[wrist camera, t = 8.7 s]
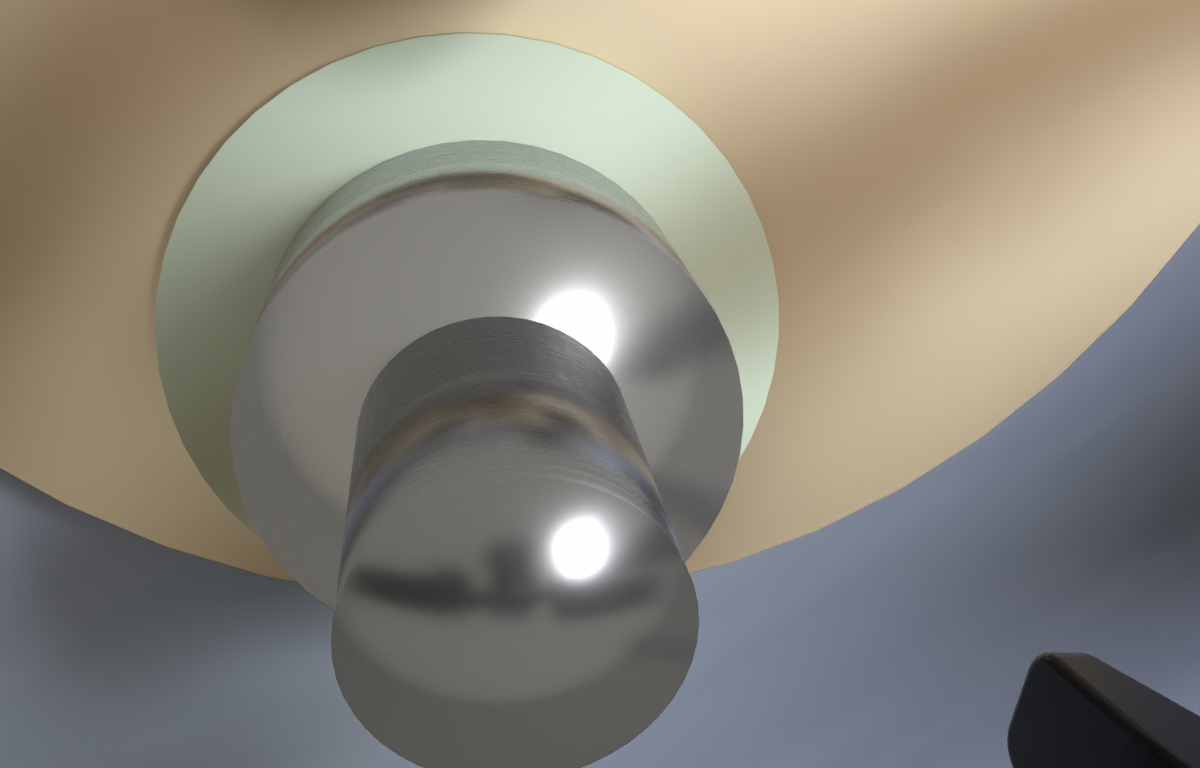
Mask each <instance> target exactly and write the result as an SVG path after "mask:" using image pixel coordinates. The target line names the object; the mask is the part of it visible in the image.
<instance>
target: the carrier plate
mask: <svg viewBox="0 0 1200 768" xmlns="http://www.w3.org/2000/svg"><path fill="white" fill-rule="evenodd" d="M468 140H492V141H508V142H514V143H520V144H527V145H533V146H537V147H540V148H543V149H547V150H550V151H553V152H557V153H560V154H563V155H565V156H568V157H570V158H572V159H574V160H576V161H579V162H581V163H583V164H585V165H588V166H590V167H591V168H593V169H594V170H596V171H598V172H599V173H601V174H603V175H604V176H606V177H607V178H609V179H611V180H612V181H614V182H615V183H616V184H617V185H619V186H620V187H621V188H622V189H623V190H625V191H626V192H627V193H628V194H630V195H631V196H632V197H633V198H634V199H636V200H637V202H638V203H639V204H640V205H641V206H642V207H643V208H644V209H645V210H646V211H647V213H648V214H649V215H650V216H651V217H652V218H653V219H654V220H655V222H656V223H657V225H658V226H659V227H660V229H661V230H662V232H663V233H664V235H665V236H666V238H667V239H668V241H669V242H670V244H671V245H672V247H673V248H674V250H675V251H676V253H677V254H678V256H679V257H680V259H681V260H682V262H683V263H684V265H685V266H686V268H687V270H688V271H689V273H690V274H691V276H692V277H693V279H694V280H695V282H696V283H697V285H698V286H699V288H700V289H701V291H702V292H703V294H704V296H705V297H706V299H707V300H708V302H709V303H710V305H711V306H712V308H713V309H714V311H715V312H716V314H717V316H718V318H719V320H720V322H721V325H722V327H723V329H724V331H725V333H726V335H727V337H728V339H729V341H730V344H731V348H732V351H733V354H734V357H735V360H736V363H737V366H738V371H739V377H740V383H741V389H742V395H743V434H742V442H741V450H740V457H739V460H738V464H737V468H736V471H735V475H734V479H733V483H732V485H731V488H730V490H729V492H728V495H727V497H726V500H725V502H724V504H723V507H722V509H721V511H720V513H719V514H718V516H717V518H716V520H715V521H714V523H713V525H712V526H711V528H710V530H709V532H708V533H707V535H706V536H705V538H704V539H703V540H702V542H701V543H700V544H699V546H698V547H697V548H696V550H695V551H694V552H693V553H692V555H691V556H690V557H689V559H688V560H687V561H686V562H685V564H686V566H687V569H688V572H689V573H692V572H696V571H699V570H703V569H707V568H711V567H715V566H719V565H723V564H727V563H731V562H734V561H736V560H739V559H742V558H744V557H747V556H750V555H753V554H755V553H758V552H761V551H763V550H766V549H769V548H771V547H774V546H777V545H779V544H782V543H785V542H788V541H790V540H793V539H796V538H798V537H801V536H804V535H806V534H809V533H812V532H814V531H817V530H819V529H821V528H823V527H825V526H827V525H829V524H831V523H833V522H835V521H837V520H839V519H841V518H843V517H845V516H847V515H849V514H851V513H853V512H855V511H857V510H859V509H861V508H863V507H865V506H867V505H869V504H871V503H873V502H876V501H878V500H880V499H882V498H884V497H886V496H888V495H890V494H892V493H894V492H896V491H898V490H900V489H901V488H903V487H905V486H906V485H908V484H909V483H911V482H912V481H914V480H916V479H917V478H919V477H920V476H922V475H923V474H925V473H927V472H928V471H930V470H931V469H933V468H934V467H936V466H938V465H939V464H941V463H942V462H944V461H945V460H947V459H949V458H950V457H952V456H953V455H955V454H956V453H958V452H960V451H961V450H963V449H964V448H966V447H967V446H969V445H971V444H972V443H974V442H975V441H977V440H978V439H980V438H982V437H983V436H984V435H985V434H987V433H988V432H989V431H990V430H992V429H993V428H994V427H995V426H997V425H998V424H999V423H1000V422H1002V421H1003V420H1004V419H1006V418H1007V417H1008V416H1009V415H1011V414H1012V413H1013V412H1014V411H1016V410H1017V409H1018V408H1019V407H1021V406H1022V405H1023V404H1024V403H1026V402H1027V401H1028V400H1029V399H1031V398H1032V397H1033V396H1035V395H1036V394H1037V393H1038V392H1040V391H1041V390H1042V389H1043V388H1045V387H1046V386H1047V385H1048V384H1050V383H1051V382H1052V381H1053V380H1055V379H1056V378H1057V377H1058V376H1059V375H1060V374H1061V373H1062V372H1063V371H1065V370H1066V369H1067V368H1068V367H1069V366H1070V365H1071V364H1072V363H1073V362H1074V361H1075V360H1076V359H1077V358H1078V357H1079V356H1080V355H1081V354H1082V353H1083V352H1084V351H1085V350H1086V349H1087V348H1088V347H1089V346H1090V345H1091V344H1092V343H1093V342H1094V341H1095V340H1096V339H1097V338H1098V337H1099V336H1100V335H1101V334H1102V333H1104V332H1105V331H1106V330H1107V329H1108V328H1109V327H1110V326H1111V325H1112V324H1113V323H1114V322H1115V321H1116V320H1117V319H1118V318H1119V317H1120V316H1121V315H1122V314H1123V313H1124V312H1125V311H1126V310H1127V309H1128V308H1129V307H1130V306H1131V305H1132V304H1133V303H1134V301H1135V300H1136V299H1137V298H1138V297H1139V295H1140V294H1141V293H1142V292H1143V291H1144V289H1145V288H1146V287H1147V286H1148V285H1149V283H1150V282H1151V281H1152V280H1153V279H1154V277H1155V276H1156V275H1157V274H1158V273H1159V272H1160V270H1161V269H1162V268H1163V267H1164V266H1165V264H1166V263H1167V262H1168V261H1169V260H1170V258H1171V257H1172V256H1173V255H1174V254H1175V252H1176V251H1177V250H1178V249H1179V248H1180V246H1181V245H1182V244H1183V243H1184V242H1185V241H1186V239H1187V238H1188V237H1189V236H1190V235H1191V233H1192V232H1193V231H1194V230H1195V229H1196V227H1197V226H1198V225H1199V223H1200V0H0V468H1V469H3V470H5V471H7V472H8V473H10V474H12V475H14V476H16V477H17V478H19V479H21V480H23V481H25V482H26V483H28V484H30V485H32V486H34V487H35V488H37V489H39V490H41V491H43V492H44V493H46V494H48V495H50V496H52V497H53V498H55V499H57V500H59V501H61V502H62V503H64V504H66V505H69V506H71V507H74V508H76V509H78V510H81V511H83V512H85V513H88V514H90V515H92V516H95V517H97V518H100V519H102V520H104V521H107V522H109V523H111V524H114V525H116V526H119V527H121V528H123V529H126V530H128V531H130V532H133V533H135V534H137V535H140V536H142V537H145V538H147V539H149V540H152V541H154V542H156V543H159V544H161V545H164V546H166V547H170V548H173V549H176V550H180V551H183V552H186V553H190V554H193V555H196V556H200V557H203V558H206V559H210V560H213V561H216V562H220V563H223V564H226V565H230V566H233V567H236V568H240V569H243V570H246V571H250V572H253V573H256V574H259V575H263V576H268V577H273V578H279V579H284V580H289V581H295V582H297V581H296V580H295V579H294V578H293V577H292V576H291V575H290V574H289V573H288V572H287V571H286V570H285V569H284V568H283V567H282V565H281V564H280V563H279V562H278V560H277V559H276V558H275V557H274V555H273V554H272V553H271V551H270V550H269V549H268V548H267V546H266V545H265V543H264V541H263V540H262V538H261V536H260V535H259V533H258V531H257V529H256V528H255V526H254V524H253V523H252V521H251V519H250V516H249V514H248V511H247V509H246V506H245V504H244V502H243V499H242V497H241V494H240V491H239V487H238V483H237V479H236V475H235V471H234V466H233V462H232V450H231V439H230V423H231V409H232V399H233V394H234V390H235V385H236V381H237V376H238V372H239V368H240V366H241V363H242V360H243V357H244V355H245V352H246V349H247V347H248V344H249V341H250V339H251V336H252V333H253V331H254V328H255V325H256V323H257V320H258V317H259V314H260V312H261V309H262V306H263V304H264V301H265V298H266V296H267V293H268V290H269V288H270V285H271V282H272V280H273V277H274V275H275V272H276V270H277V267H278V264H279V262H280V260H281V258H282V257H283V255H284V253H285V251H286V250H287V248H288V246H289V244H290V242H291V241H292V239H293V237H294V236H295V235H296V233H297V232H298V231H299V229H300V228H301V227H302V226H303V224H304V223H305V222H306V220H307V219H308V218H309V217H310V215H311V214H312V213H313V212H314V211H315V210H316V209H317V208H318V207H319V206H320V205H321V204H322V203H323V202H324V201H325V200H326V199H327V198H328V197H329V196H331V195H332V194H333V193H334V192H335V191H337V190H338V189H339V188H341V187H342V186H343V185H345V184H346V183H348V182H349V181H350V180H352V179H353V178H354V177H356V176H357V175H359V174H361V173H363V172H365V171H366V170H368V169H370V168H372V167H374V166H376V165H377V164H379V163H381V162H383V161H385V160H388V159H391V158H393V157H396V156H398V155H401V154H404V153H406V152H409V151H412V150H415V149H420V148H424V147H428V146H432V145H436V144H441V143H448V142H458V141H468Z"/></svg>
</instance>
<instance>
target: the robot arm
mask: <svg viewBox="0 0 1200 768" xmlns="http://www.w3.org/2000/svg"><path fill="white" fill-rule="evenodd" d="M1007 741H1008V751H1009V756H1010V760H1011V763H1012V766H1013V768H1200V716H1198V715H1196V714H1194V713H1193V712H1191V711H1189V710H1187V709H1186V708H1184V707H1182V706H1180V705H1178V704H1177V703H1175V702H1173V701H1171V700H1170V699H1168V698H1166V697H1164V696H1162V695H1161V694H1159V693H1157V692H1155V691H1154V690H1152V689H1150V688H1148V687H1146V686H1145V685H1143V684H1141V683H1139V682H1138V681H1136V680H1134V679H1132V678H1130V677H1129V676H1127V675H1125V674H1123V673H1122V672H1120V671H1118V670H1116V669H1115V668H1113V667H1111V666H1109V665H1107V664H1106V663H1104V662H1102V661H1100V660H1099V659H1097V658H1095V657H1093V656H1091V655H1088V654H1084V653H1049V652H1047V653H1043V654H1041V655H1039V656H1038V657H1036V658H1035V660H1034V661H1033V662H1032V663H1031V666H1030V668H1029V670H1028V673H1027V676H1026V679H1025V682H1024V685H1023V688H1022V691H1021V694H1020V696H1019V699H1018V702H1017V705H1016V708H1015V711H1014V714H1013V717H1012V720H1011V723H1010V726H1009V730H1008V739H1007Z"/></svg>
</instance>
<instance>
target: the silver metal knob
mask: <svg viewBox="0 0 1200 768" xmlns="http://www.w3.org/2000/svg"><path fill="white" fill-rule="evenodd" d="M742 434H743V395H742V389H741V383H740V377H739V371H738V366H737V363H736V360H735V357H734V354H733V351H732V348H731V344H730V341H729V339H728V337H727V335H726V333H725V331H724V329H723V327H722V325H721V322H720V320H719V318H718V316H717V314H716V312H715V311H714V309H713V308H712V306H711V305H710V303H709V302H708V300H707V299H706V297H705V296H704V294H703V292H702V291H701V289H700V288H699V286H698V285H697V283H696V282H695V280H694V279H693V277H692V276H691V274H690V273H689V271H688V270H687V268H686V266H685V265H684V263H683V262H682V260H681V259H680V257H679V256H678V254H677V253H676V251H675V250H674V248H673V247H672V245H671V244H670V242H669V241H668V239H667V238H666V236H665V235H664V233H663V232H662V230H661V229H660V227H659V226H658V225H657V223H656V222H655V220H654V219H653V218H652V217H651V216H650V215H649V214H648V213H647V211H646V210H645V209H644V208H643V207H642V206H641V205H640V204H639V203H638V202H637V200H636V199H634V198H633V197H632V196H631V195H630V194H628V193H627V192H626V191H625V190H623V189H622V188H621V187H620V186H619V185H617V184H616V183H615V182H614V181H612V180H611V179H609V178H607V177H606V176H604V175H603V174H601V173H599V172H598V171H596V170H594V169H593V168H591V167H590V166H588V165H585V164H583V163H581V162H579V161H576V160H574V159H572V158H570V157H568V156H565V155H563V154H560V153H557V152H553V151H550V150H547V149H543V148H540V147H537V146H533V145H527V144H520V143H514V142H508V141H492V140H468V141H458V142H448V143H441V144H436V145H432V146H428V147H424V148H420V149H415V150H412V151H409V152H406V153H404V154H401V155H398V156H396V157H393V158H391V159H388V160H385V161H383V162H381V163H379V164H377V165H376V166H374V167H372V168H370V169H368V170H366V171H365V172H363V173H361V174H359V175H357V176H356V177H354V178H353V179H352V180H350V181H349V182H348V183H346V184H345V185H343V186H342V187H341V188H339V189H338V190H337V191H335V192H334V193H333V194H332V195H331V196H329V197H328V198H327V199H326V200H325V201H324V202H323V203H322V204H321V205H320V206H319V207H318V208H317V209H316V210H315V211H314V212H313V213H312V214H311V215H310V217H309V218H308V219H307V220H306V222H305V223H304V224H303V226H302V227H301V228H300V229H299V231H298V232H297V233H296V235H295V236H294V237H293V239H292V241H291V242H290V244H289V246H288V248H287V250H286V251H285V253H284V255H283V257H282V258H281V260H280V262H279V264H278V267H277V270H276V272H275V275H274V277H273V280H272V282H271V285H270V288H269V290H268V293H267V296H266V298H265V301H264V304H263V306H262V309H261V312H260V314H259V317H258V320H257V323H256V325H255V328H254V331H253V333H252V336H251V339H250V341H249V344H248V347H247V349H246V352H245V355H244V357H243V360H242V363H241V366H240V368H239V372H238V376H237V381H236V385H235V390H234V394H233V399H232V409H231V423H230V439H231V450H232V462H233V466H234V471H235V475H236V479H237V483H238V487H239V491H240V494H241V497H242V499H243V502H244V504H245V506H246V509H247V511H248V514H249V516H250V519H251V521H252V523H253V524H254V526H255V528H256V529H257V531H258V533H259V535H260V536H261V538H262V540H263V541H264V543H265V545H266V546H267V548H268V549H269V550H270V551H271V553H272V554H273V555H274V557H275V558H276V559H277V560H278V562H279V563H280V564H281V565H282V567H283V568H284V569H285V570H286V571H287V572H288V573H289V574H290V575H291V576H292V577H293V578H294V579H295V580H296V581H297V582H298V583H299V584H300V585H301V586H302V587H303V588H304V589H305V590H306V591H308V592H309V593H310V594H312V595H313V596H315V597H316V598H317V599H319V600H320V601H321V602H323V603H324V604H325V605H327V606H328V607H329V608H331V609H332V610H334V620H333V628H332V637H331V644H332V660H333V665H334V669H335V674H336V678H337V681H338V684H339V686H340V689H341V691H342V694H343V696H344V698H345V700H346V701H347V703H348V705H349V707H350V708H351V710H352V712H353V713H354V715H355V716H356V717H357V718H358V720H359V721H360V722H361V723H362V724H363V726H364V727H365V728H366V729H367V730H368V731H369V732H370V733H371V734H372V735H373V736H374V737H375V738H376V739H378V740H379V741H380V742H381V743H382V744H383V745H385V746H386V747H388V748H389V749H391V750H392V751H393V752H395V753H396V754H398V755H399V756H401V757H403V758H405V759H407V760H409V761H411V762H413V763H415V764H417V765H419V766H422V767H424V768H581V767H583V766H586V765H589V764H591V763H593V762H595V761H597V760H599V759H601V758H603V757H605V756H608V755H610V754H611V753H613V752H614V751H616V750H618V749H619V748H621V747H622V746H624V745H626V744H627V743H629V742H630V741H631V740H633V739H634V738H635V737H636V736H638V735H639V734H640V733H641V732H643V731H644V730H645V729H646V728H647V727H648V726H649V725H650V724H651V723H652V722H653V721H654V720H655V719H656V718H657V717H658V716H659V715H660V714H661V713H662V712H663V711H664V709H665V708H666V707H667V706H668V704H669V703H670V702H671V700H672V699H673V698H674V696H675V695H676V693H677V691H678V690H679V688H680V686H681V685H682V683H683V681H684V679H685V677H686V674H687V672H688V670H689V667H690V665H691V663H692V659H693V655H694V652H695V648H696V644H697V636H698V627H699V618H698V603H697V598H696V593H695V589H694V585H693V582H692V580H691V577H690V574H689V572H688V569H687V566H686V564H685V562H686V561H687V560H688V559H689V557H690V556H691V555H692V553H693V552H694V551H695V550H696V548H697V547H698V546H699V544H700V543H701V542H702V540H703V539H704V538H705V536H706V535H707V533H708V532H709V530H710V528H711V526H712V525H713V523H714V521H715V520H716V518H717V516H718V514H719V513H720V511H721V509H722V507H723V504H724V502H725V500H726V497H727V495H728V492H729V490H730V488H731V485H732V483H733V479H734V475H735V471H736V468H737V464H738V460H739V457H740V450H741V442H742Z"/></svg>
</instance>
